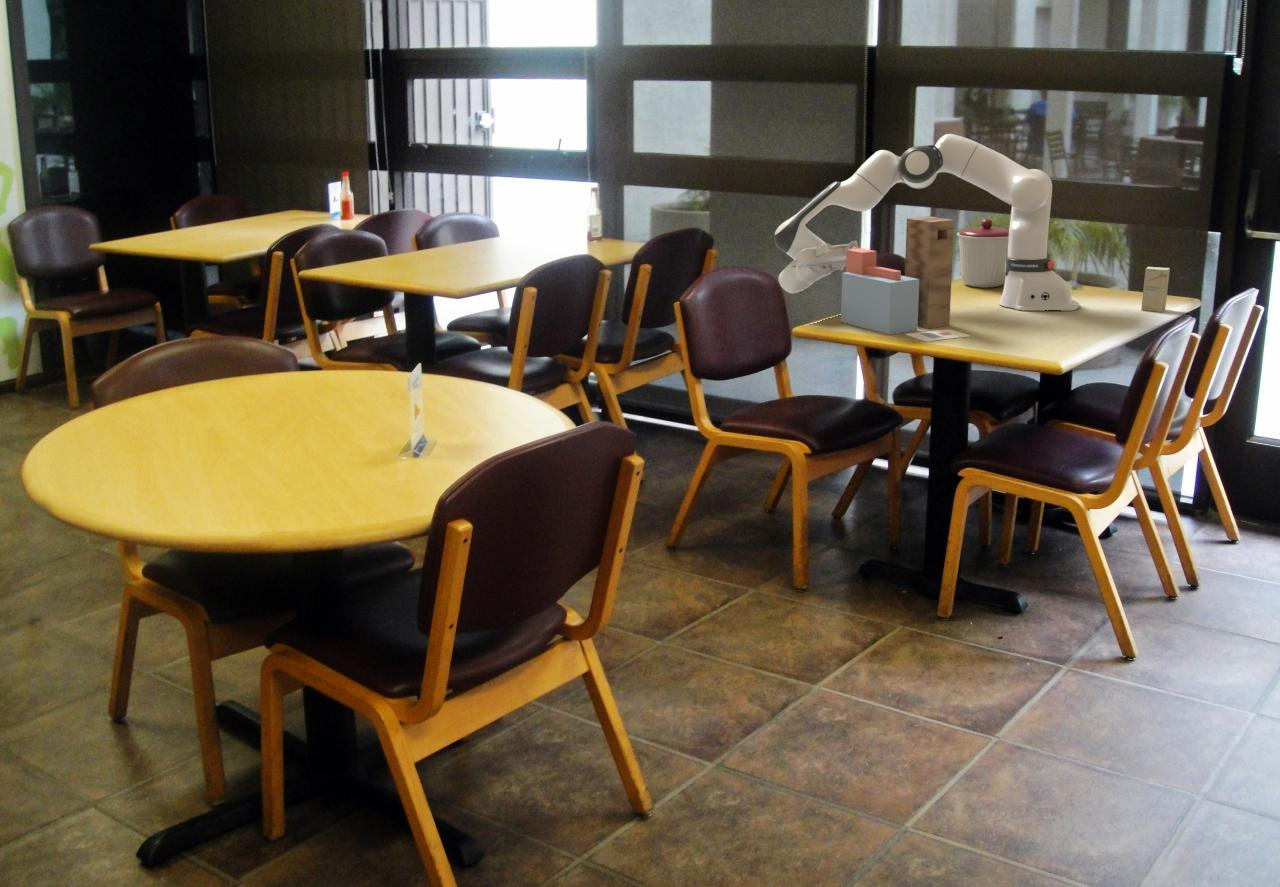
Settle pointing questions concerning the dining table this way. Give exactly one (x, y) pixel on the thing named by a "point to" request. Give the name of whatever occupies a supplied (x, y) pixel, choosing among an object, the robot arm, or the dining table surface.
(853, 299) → the base block
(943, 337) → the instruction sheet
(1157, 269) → the skincare box
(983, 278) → the canister
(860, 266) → the peg brick
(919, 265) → the stand
